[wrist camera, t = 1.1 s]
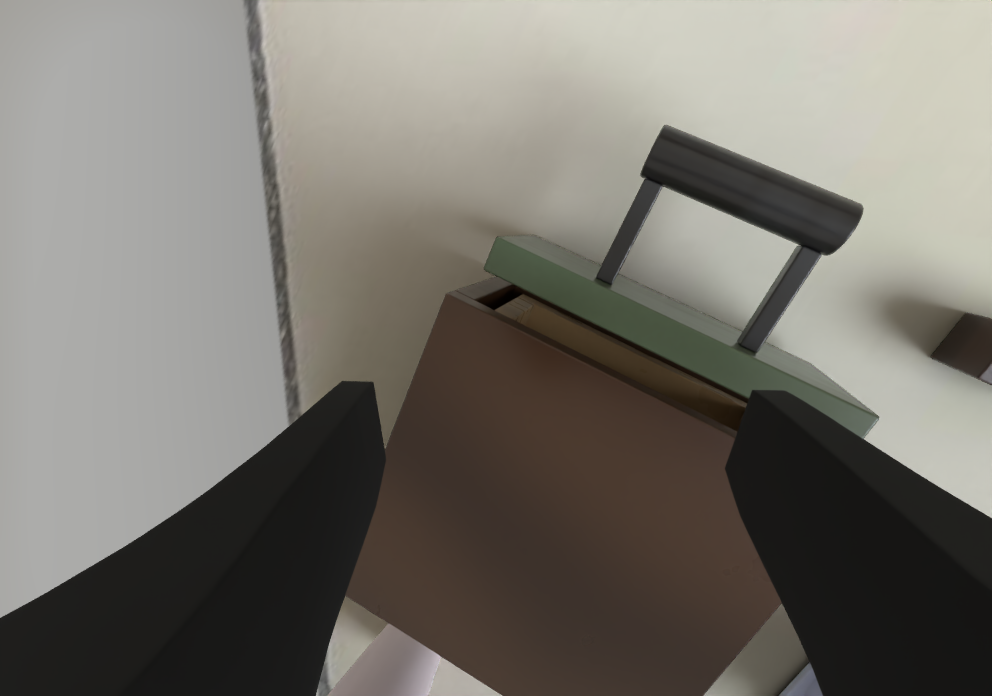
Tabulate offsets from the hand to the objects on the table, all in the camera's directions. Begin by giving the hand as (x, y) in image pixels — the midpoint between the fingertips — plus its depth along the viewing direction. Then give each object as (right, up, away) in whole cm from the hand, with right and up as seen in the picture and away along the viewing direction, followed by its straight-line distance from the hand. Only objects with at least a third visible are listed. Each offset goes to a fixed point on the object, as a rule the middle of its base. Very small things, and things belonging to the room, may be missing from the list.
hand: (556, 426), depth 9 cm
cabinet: (+3, -4, +14) cm, 15 cm away
